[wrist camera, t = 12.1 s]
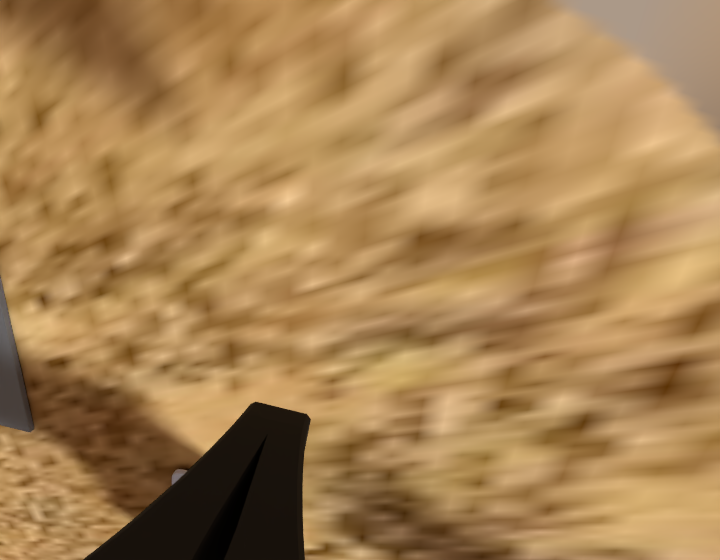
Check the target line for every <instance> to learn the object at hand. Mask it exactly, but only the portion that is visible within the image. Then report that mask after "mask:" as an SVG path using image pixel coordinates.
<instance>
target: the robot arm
mask: <svg viewBox="0 0 720 560" xmlns="http://www.w3.org/2000/svg"><path fill="white" fill-rule="evenodd" d="M310 420H311V419H310V418H309V416H308V415H307V414H304V413H300V412H296V411H292V410H287V409H283V408H279V407H275V406H271V405H267V404H263V403H259V402H254V403H252V404H250V406H249V407H248V408H247V409H246V410H245V412H244V413H243V414H242V415H241V416H240V417H239V419H238V420H237V421H236V422H235V423H234V424H233V425H232V426H231V427H230V429H229V430H228V431H227V432H226V433H225V434H224V435H223V436H222V437H221V438H220V439H219V440H218V441H217V442H216V443H215V444H214V445H213V446H212V447H211V448H210V449H209V450H208V451H207V452H206V453H205V454H204V455H203V456H202V457H201V458H200V459H199V460H198V461H197V462H196V463H195V464H194V465H193V466H192V467H191V468H190V469H189V470H188V471H187V470H183V469H177V470H175V471H174V473H173V475H172V486H171V487H170V488H168V489H167V490H166V491H165V492H164V493H163V494H162V495H160V496H159V497H158V498H157V499H156V500H155V501H154V502H153V503H151V504H150V505H149V506H148V507H147V508H146V509H145V510H144V511H142V512H141V513H140V514H139V515H138V516H137V517H135V518H134V519H133V520H132V521H131V522H129V523H128V524H127V525H126V526H125V527H123V528H122V529H121V530H120V531H119V532H117V533H116V534H115V535H114V536H112V537H111V538H110V539H109V540H108V541H106V542H105V543H104V544H102V545H101V546H100V547H99V548H97V549H96V550H95V551H94V552H92V553H91V554H90V555H88V556H87V557H86V558H85V559H83V560H305V556H304V539H303V506H302V482H303V462H304V451H305V446H306V441H307V436H308V430H309V425H310Z"/></svg>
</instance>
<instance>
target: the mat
mask: <svg viewBox="0 0 720 560" xmlns="http://www.w3.org/2000/svg"><path fill="white" fill-rule="evenodd" d="M0 425H2V426H6V427H10V428H14V429H18V430H22V431H26V432H31V431H32V430H34V425H33V421H32V417H31V412H30V408H29V403H28V399H27V394H26V390H25V385H24V381H23V376H22V372H21V367H20V363H19V358H18V354H17V349H16V345H15V340H14V336H13V331H12V327H11V322H10V318H9V313H8V309H7V304H6V300H5V295H4V291H3V286H2V282H1V277H0Z"/></svg>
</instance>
